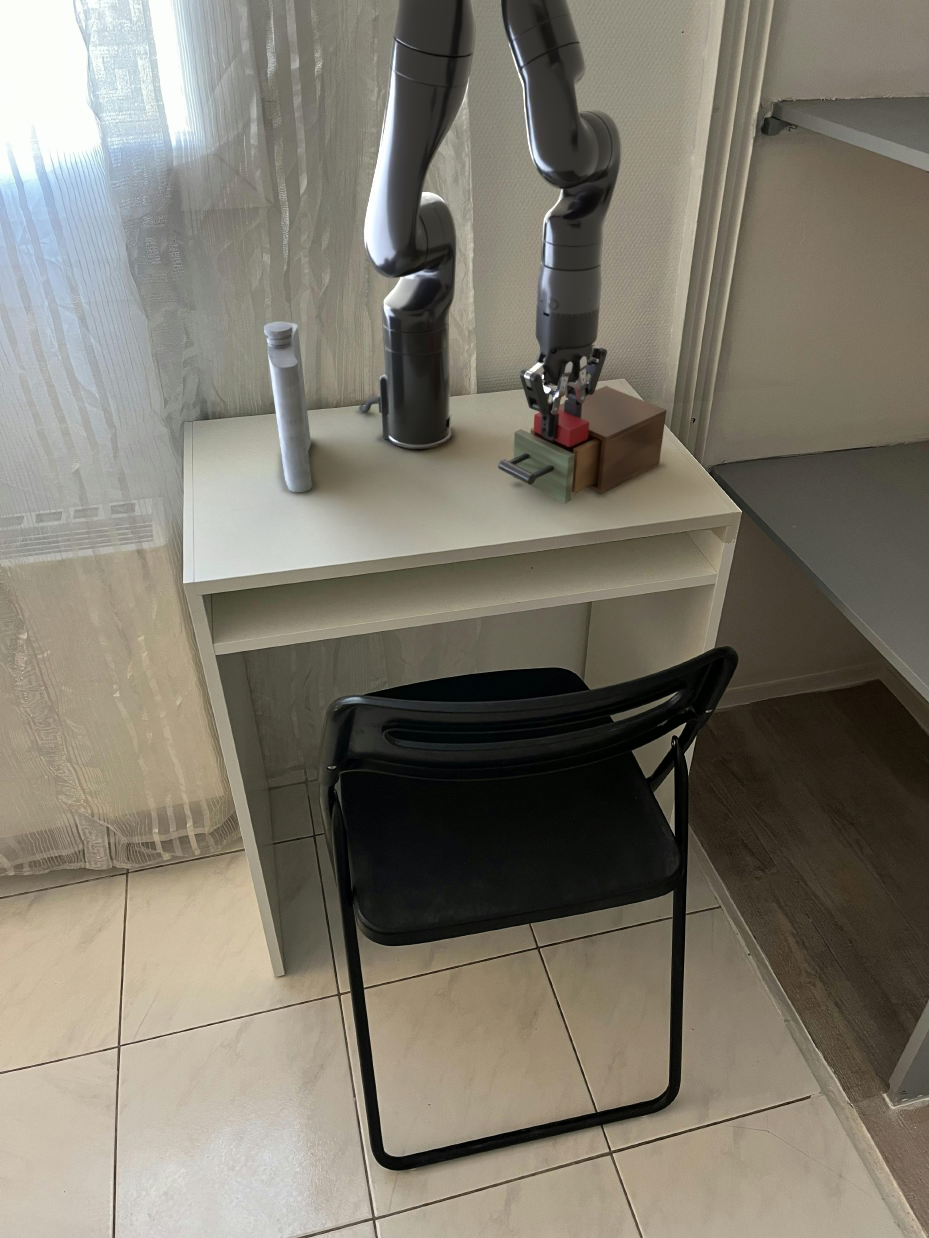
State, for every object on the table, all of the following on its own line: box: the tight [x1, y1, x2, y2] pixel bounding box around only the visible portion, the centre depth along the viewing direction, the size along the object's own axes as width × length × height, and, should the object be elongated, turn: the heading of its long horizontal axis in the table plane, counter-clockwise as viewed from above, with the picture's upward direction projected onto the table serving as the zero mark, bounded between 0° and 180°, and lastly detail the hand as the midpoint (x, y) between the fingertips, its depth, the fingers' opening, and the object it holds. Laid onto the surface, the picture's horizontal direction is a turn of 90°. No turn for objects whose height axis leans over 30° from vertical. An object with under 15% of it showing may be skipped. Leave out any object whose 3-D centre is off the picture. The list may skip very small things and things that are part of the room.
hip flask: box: [263, 321, 313, 493], centre depth 126 cm, size 16×4×20 cm, turn 8°
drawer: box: [498, 427, 602, 504], centre depth 124 cm, size 16×10×7 cm, turn 132°
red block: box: [533, 409, 589, 447], centre depth 121 cm, size 6×4×2 cm, turn 42°
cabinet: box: [559, 385, 667, 495], centre depth 129 cm, size 12×11×8 cm
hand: (560, 432), depth 122 cm, fingers closed on red block, 3 cm apart
